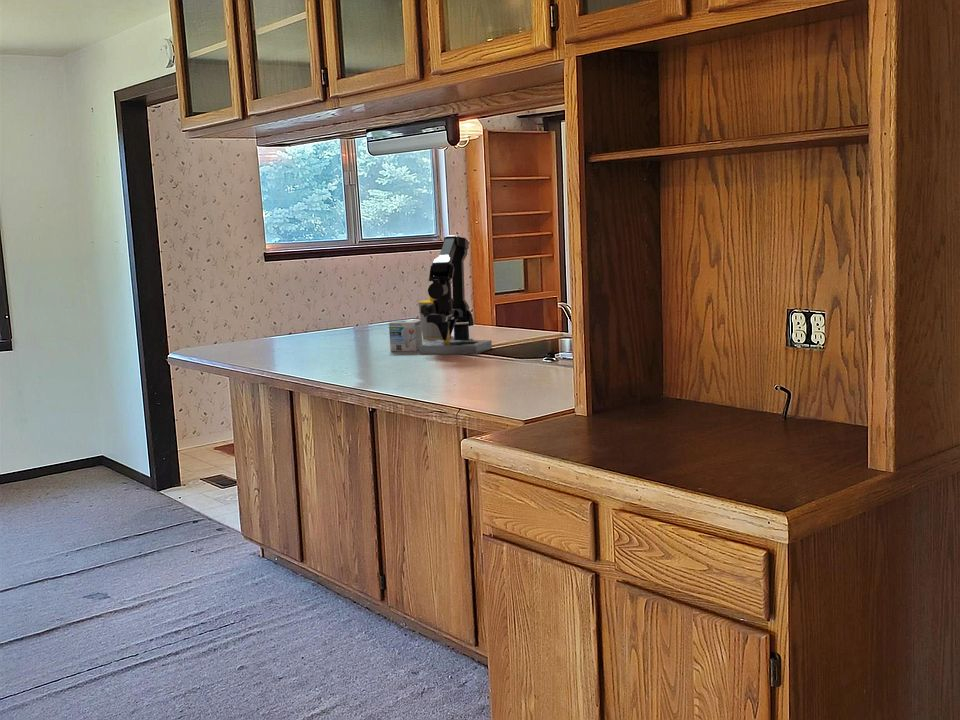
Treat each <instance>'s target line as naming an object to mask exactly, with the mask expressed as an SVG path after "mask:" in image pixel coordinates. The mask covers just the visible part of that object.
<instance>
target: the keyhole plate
mask: <svg viewBox="0 0 960 720" xmlns="http://www.w3.org/2000/svg"><path fill="white" fill-rule="evenodd" d="M492 343H493V342H492V339H473V340H455V339H450V343H443V339H434V340H433V341H430V342H429V341H428V342H426V343H423V345H420V350H419V354H420V355H479V354H481V353H484V352H486V351H488V350H491V349H492V348H493V345H492Z"/></svg>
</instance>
